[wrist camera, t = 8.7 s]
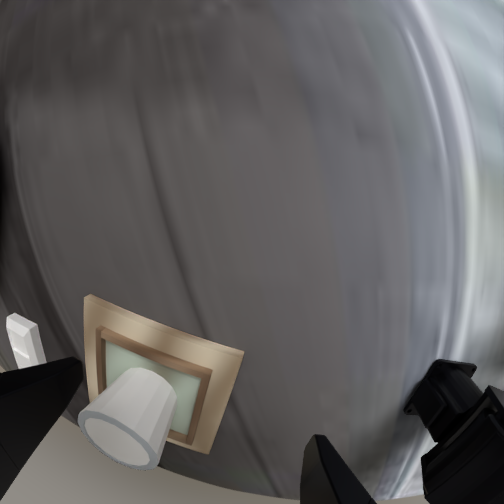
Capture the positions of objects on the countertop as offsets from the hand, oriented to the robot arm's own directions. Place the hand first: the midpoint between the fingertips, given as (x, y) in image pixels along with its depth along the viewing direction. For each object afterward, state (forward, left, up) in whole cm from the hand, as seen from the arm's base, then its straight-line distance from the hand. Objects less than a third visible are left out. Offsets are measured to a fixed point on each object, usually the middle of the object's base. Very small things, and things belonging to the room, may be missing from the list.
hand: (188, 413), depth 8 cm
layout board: (+5, +11, -12) cm, 17 cm away
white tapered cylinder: (+5, +11, -11) cm, 16 cm away
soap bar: (+22, +16, -12) cm, 30 cm away
